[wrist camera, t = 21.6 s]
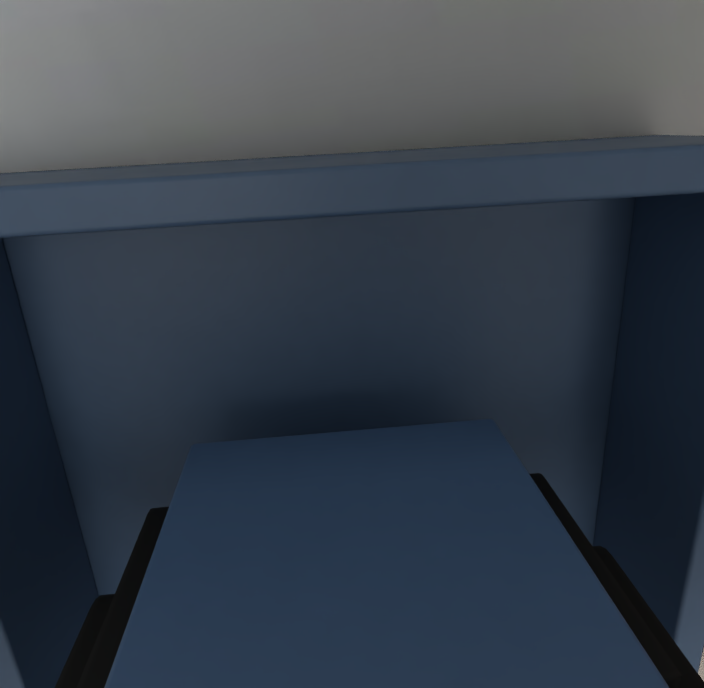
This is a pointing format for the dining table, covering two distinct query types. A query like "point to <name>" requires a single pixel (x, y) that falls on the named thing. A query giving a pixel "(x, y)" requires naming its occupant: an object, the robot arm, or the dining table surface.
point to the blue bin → (349, 344)
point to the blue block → (371, 572)
